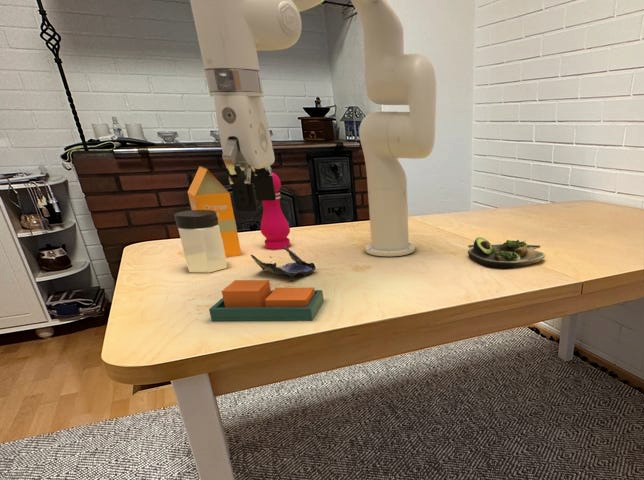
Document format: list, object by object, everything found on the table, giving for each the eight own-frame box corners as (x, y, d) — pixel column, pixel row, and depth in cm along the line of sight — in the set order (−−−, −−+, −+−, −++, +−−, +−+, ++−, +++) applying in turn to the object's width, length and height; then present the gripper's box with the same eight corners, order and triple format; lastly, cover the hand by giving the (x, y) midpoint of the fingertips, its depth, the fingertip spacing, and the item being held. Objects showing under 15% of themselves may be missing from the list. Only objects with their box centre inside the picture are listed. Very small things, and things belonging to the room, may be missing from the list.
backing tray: (233, 301, 86) (230, 290, 85) (323, 300, 87) (322, 289, 86) (211, 321, 78) (208, 309, 77) (312, 320, 78) (310, 308, 77)
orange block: (239, 301, 84) (234, 280, 82) (272, 301, 85) (269, 279, 83) (226, 313, 79) (221, 291, 77) (262, 313, 79) (258, 290, 77)
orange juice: (208, 259, 112) (187, 169, 102) (200, 251, 118) (180, 166, 109) (242, 254, 116) (225, 167, 107) (233, 247, 122) (216, 165, 113)
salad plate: (521, 245, 126) (522, 228, 124) (563, 262, 112) (565, 242, 110) (457, 253, 118) (457, 235, 116) (494, 271, 104) (495, 251, 102)
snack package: (298, 264, 109) (248, 271, 102) (298, 237, 106) (245, 243, 99) (323, 284, 102) (271, 294, 95) (323, 256, 99) (269, 264, 92)
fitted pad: (278, 300, 85) (276, 287, 84) (315, 300, 85) (314, 287, 84) (267, 314, 79) (264, 300, 78) (307, 313, 79) (305, 299, 78)
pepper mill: (282, 242, 128) (270, 163, 119) (297, 246, 124) (286, 164, 115) (258, 246, 123) (243, 164, 114) (273, 251, 119) (259, 166, 110)
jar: (230, 270, 104) (218, 214, 98) (189, 275, 100) (174, 217, 95) (225, 260, 111) (214, 208, 105) (186, 265, 107) (173, 211, 102)
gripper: (239, 82, 62) (264, 215, 70) (277, 88, 77) (293, 196, 85) (182, 82, 62) (213, 215, 70) (231, 88, 77) (252, 196, 85)
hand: (257, 205), depth 77 cm, fingers open, 9 cm apart
